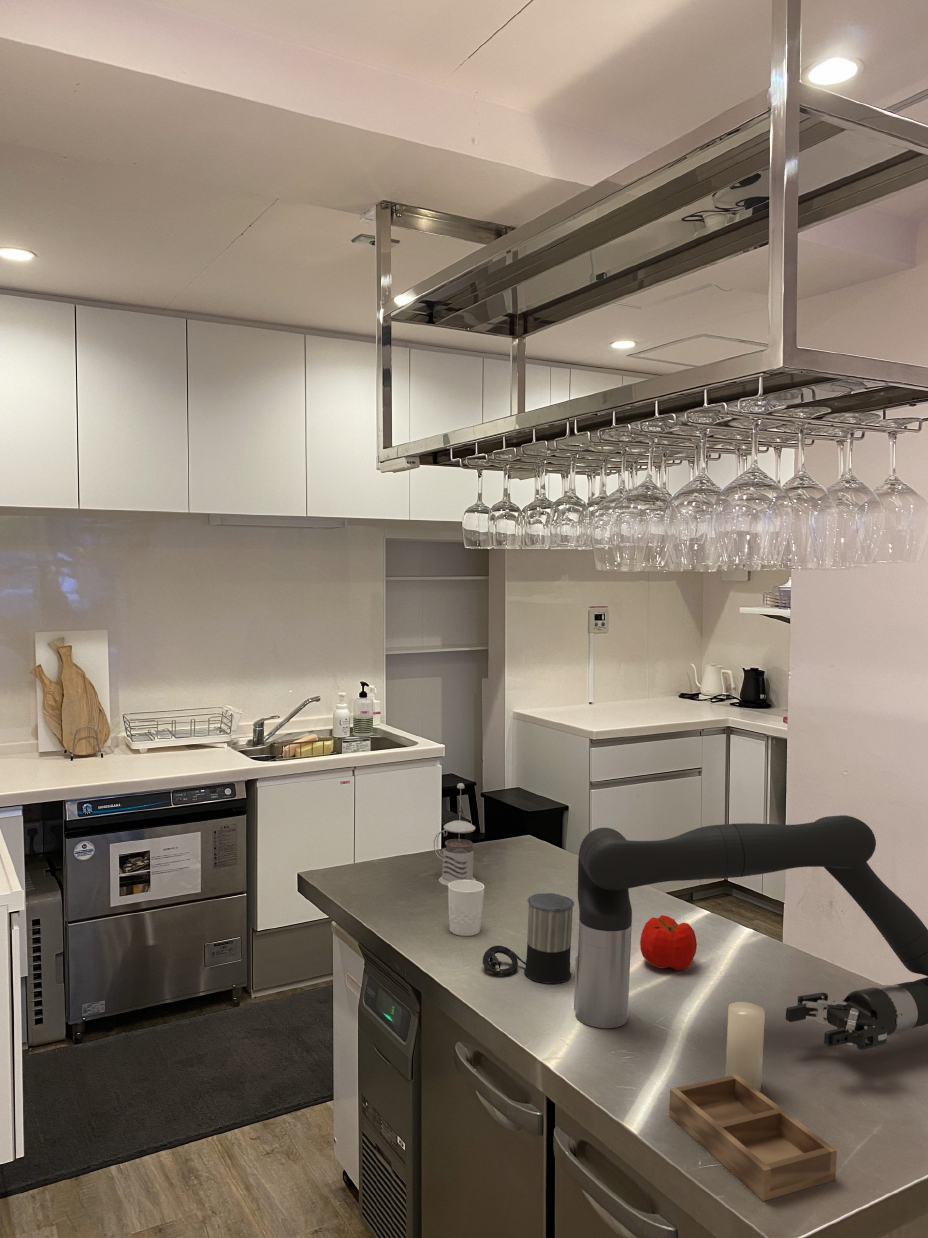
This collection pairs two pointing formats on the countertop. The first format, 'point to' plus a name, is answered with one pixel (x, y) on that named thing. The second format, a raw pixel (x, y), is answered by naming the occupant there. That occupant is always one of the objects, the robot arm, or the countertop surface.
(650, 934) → the tomato
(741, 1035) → the cream pillar candle
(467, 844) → the french press
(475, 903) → the white cup
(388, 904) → the countertop surface
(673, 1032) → the countertop surface
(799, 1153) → the wooden divided tray
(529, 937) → the milk frother
